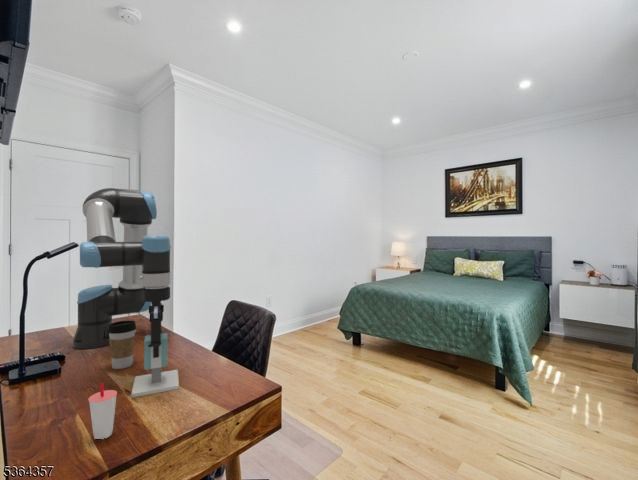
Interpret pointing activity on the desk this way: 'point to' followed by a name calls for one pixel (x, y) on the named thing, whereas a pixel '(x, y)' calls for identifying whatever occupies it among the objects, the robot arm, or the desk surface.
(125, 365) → the coffee cup
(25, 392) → the desk surface
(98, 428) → the cup
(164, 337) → the teal rectangular block
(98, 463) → the desk surface
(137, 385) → the post stand
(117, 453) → the desk surface
